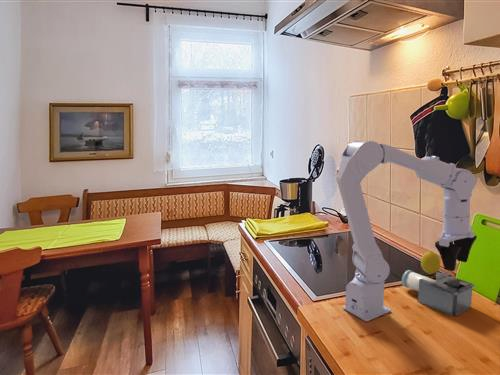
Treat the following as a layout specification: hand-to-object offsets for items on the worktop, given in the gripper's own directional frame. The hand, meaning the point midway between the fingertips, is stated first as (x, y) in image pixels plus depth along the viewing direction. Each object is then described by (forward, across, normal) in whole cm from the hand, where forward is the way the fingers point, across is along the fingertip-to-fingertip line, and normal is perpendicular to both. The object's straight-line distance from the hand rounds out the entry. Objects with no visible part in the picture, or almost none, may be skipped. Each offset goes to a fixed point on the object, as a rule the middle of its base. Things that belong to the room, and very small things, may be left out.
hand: (455, 265), depth 87 cm
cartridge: (+11, -1, +8) cm, 13 cm away
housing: (+11, -2, +2) cm, 11 cm away
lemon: (+12, +15, +13) cm, 23 cm away
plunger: (+5, -2, 0) cm, 5 cm away
